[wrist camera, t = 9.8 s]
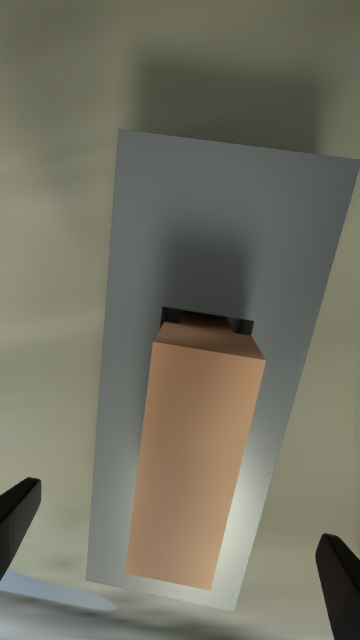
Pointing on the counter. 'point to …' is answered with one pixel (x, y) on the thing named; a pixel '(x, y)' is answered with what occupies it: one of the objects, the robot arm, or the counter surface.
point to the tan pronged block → (191, 447)
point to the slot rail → (208, 298)
